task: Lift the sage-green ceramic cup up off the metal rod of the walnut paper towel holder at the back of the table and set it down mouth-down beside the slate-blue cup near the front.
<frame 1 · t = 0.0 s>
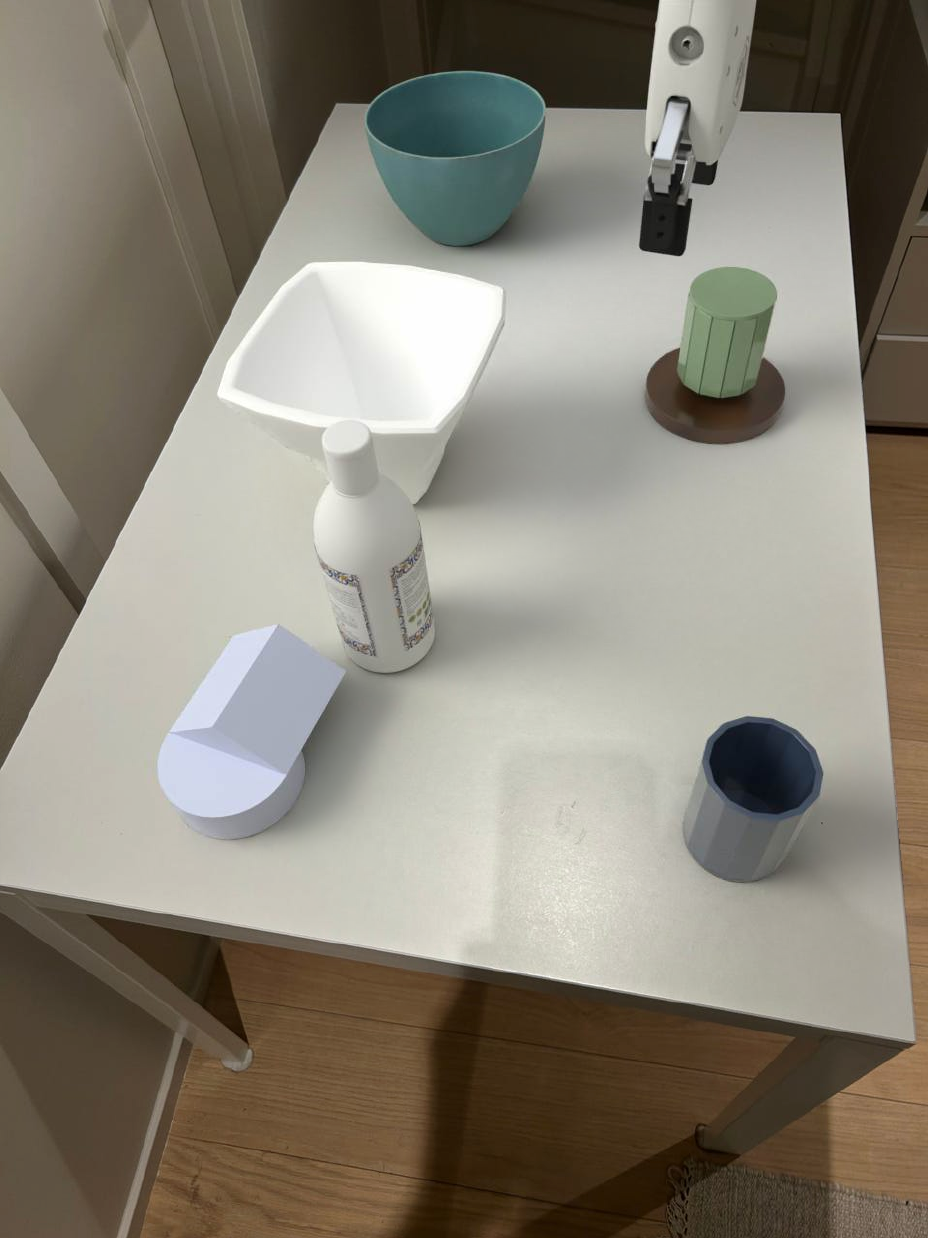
hand: (677, 214, 68), 18 cm above the table, tool pointing down, fingers open, 9 cm apart
green cup: (717, 371, 81), point 3 cm above the table, touching towel holder
bowl: (390, 474, 80), on the table
towel holder: (712, 398, 83), on the table
bath foam: (389, 639, 70), on the table
blue cup: (734, 833, 59), on the table
plant pot: (462, 227, 103), on the table
wedge on round base: (254, 754, 64), on the table
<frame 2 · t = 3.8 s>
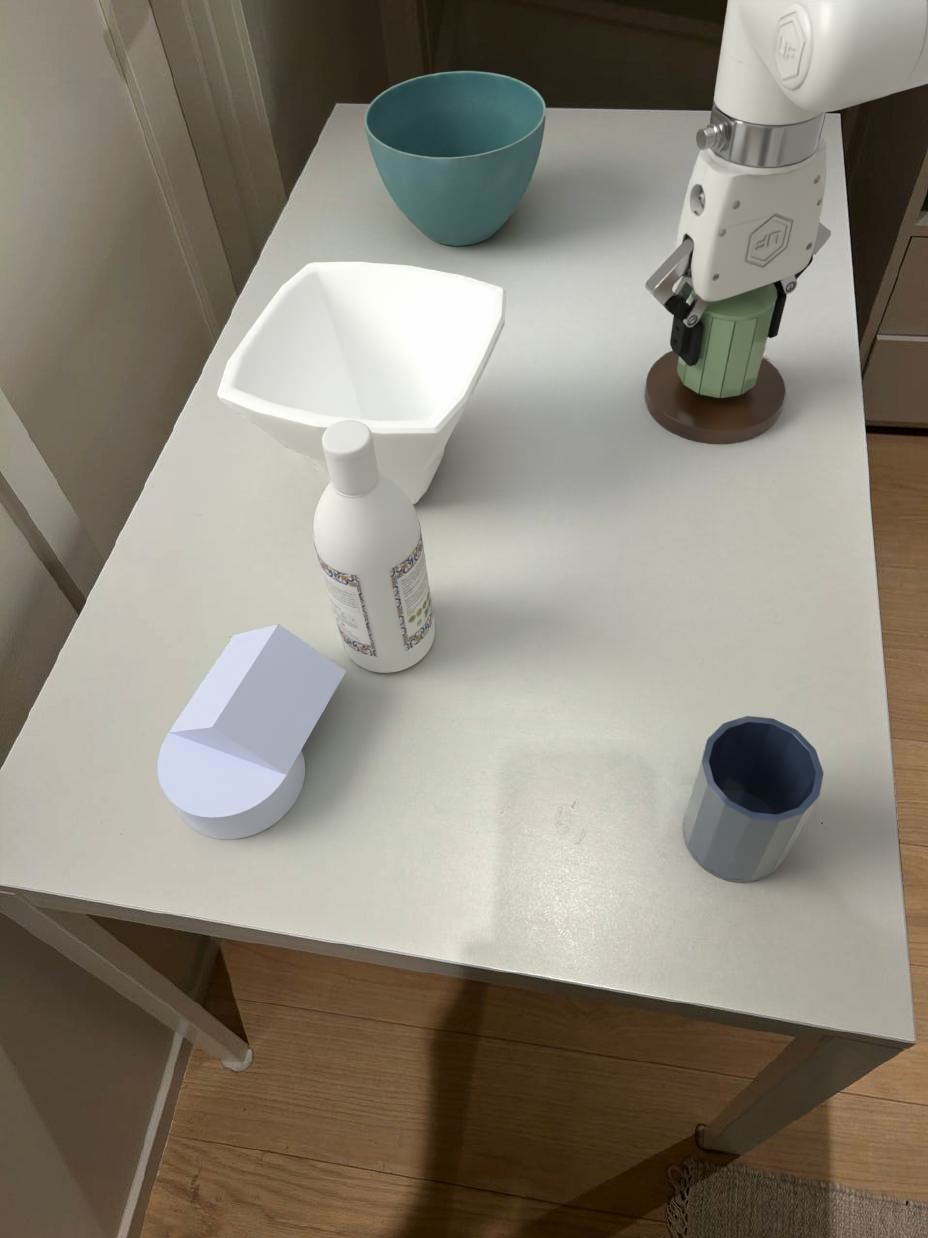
hand: (723, 341, 78), 6 cm above the table, tool pointing down, fingers closed on green cup, 7 cm apart
green cup: (717, 371, 81), point 3 cm above the table, touching gripper, towel holder
everything else where it was.
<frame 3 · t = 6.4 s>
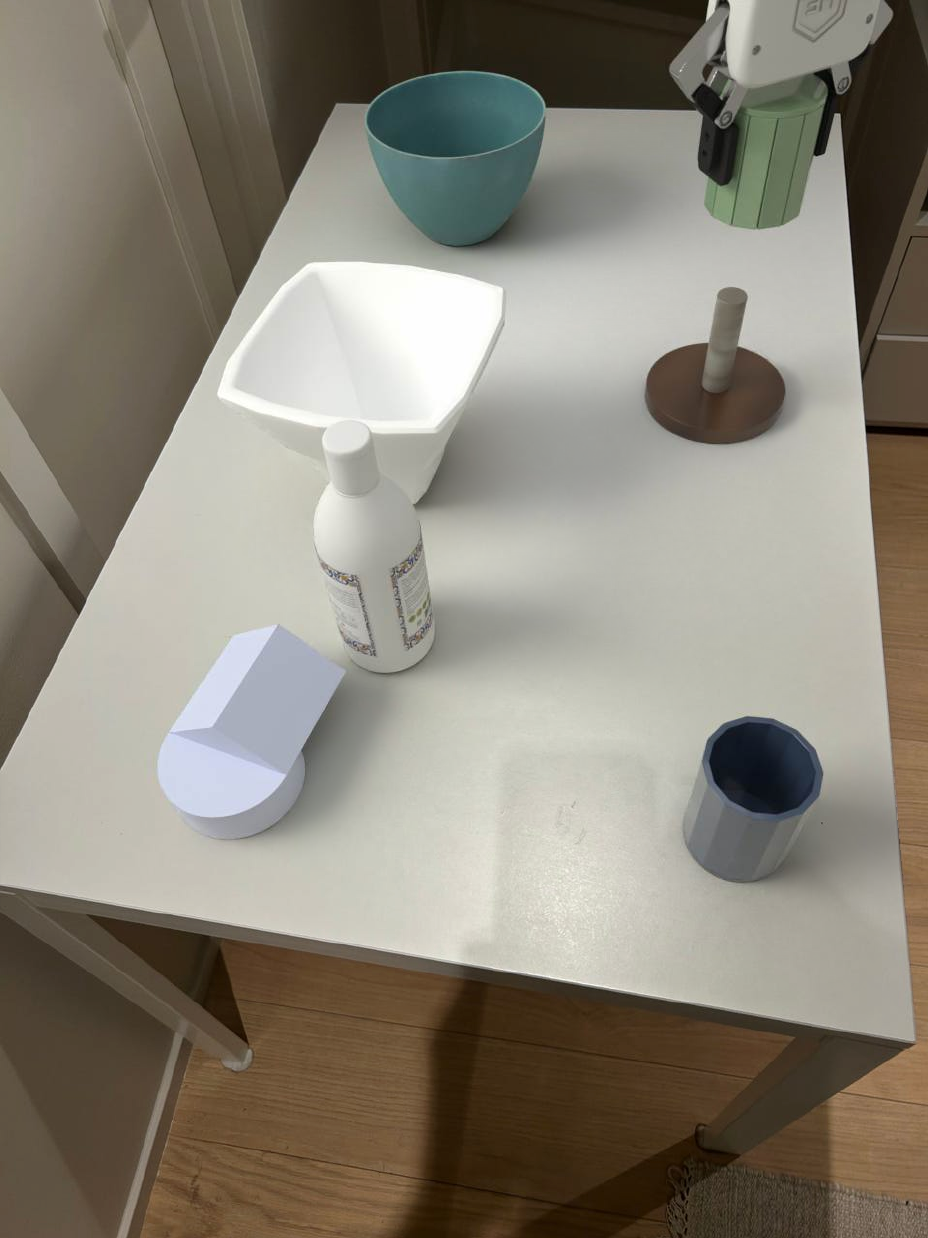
hand: (761, 160, 65), 22 cm above the table, tool pointing down, fingers closed on green cup, 7 cm apart
green cup: (752, 203, 68), point 19 cm above the table, touching gripper
everything else where it was.
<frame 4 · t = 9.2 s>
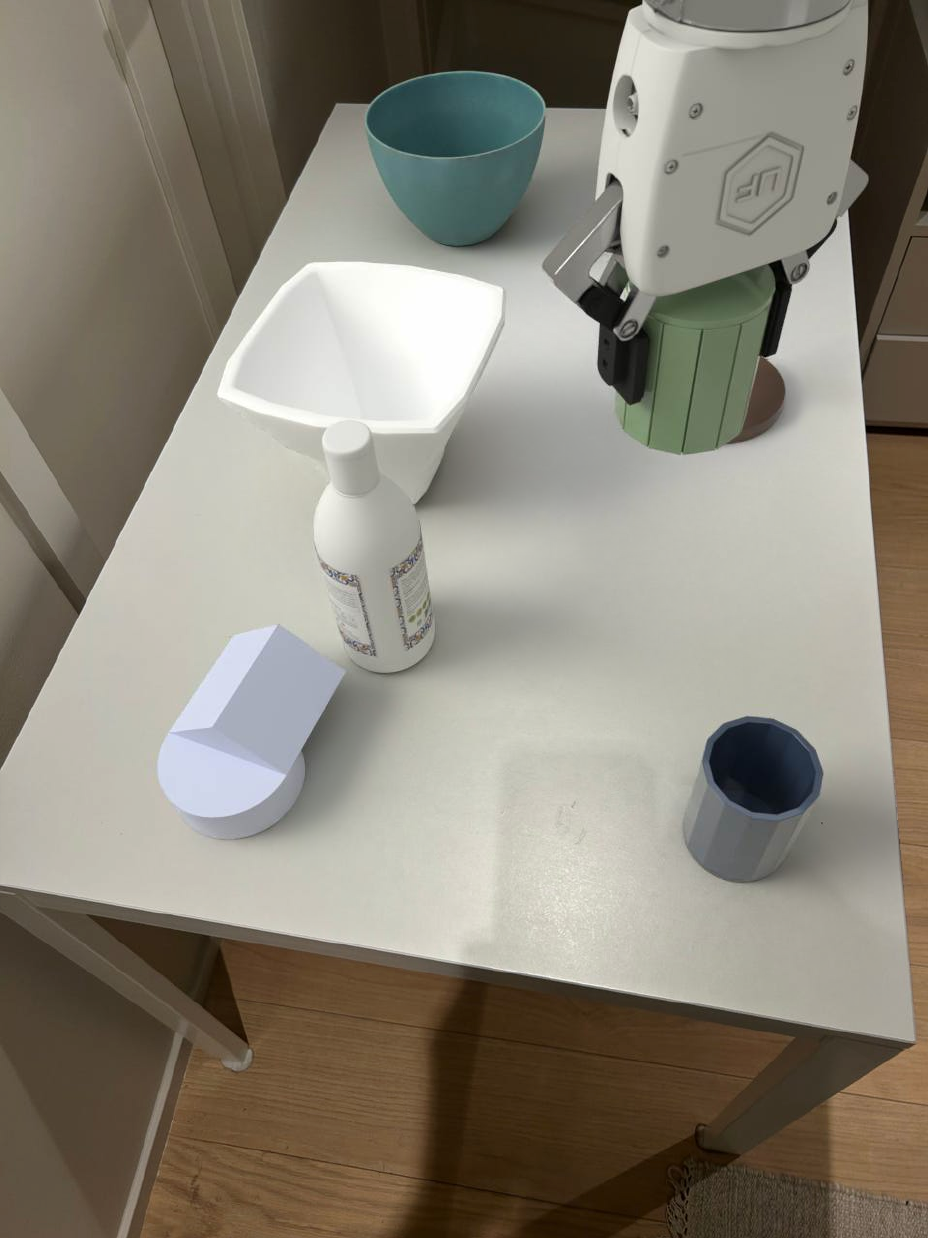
hand: (688, 362, 48), 25 cm above the table, tool pointing down, fingers closed on green cup, 7 cm apart
green cup: (680, 410, 50), point 22 cm above the table, touching gripper
everything else where it was.
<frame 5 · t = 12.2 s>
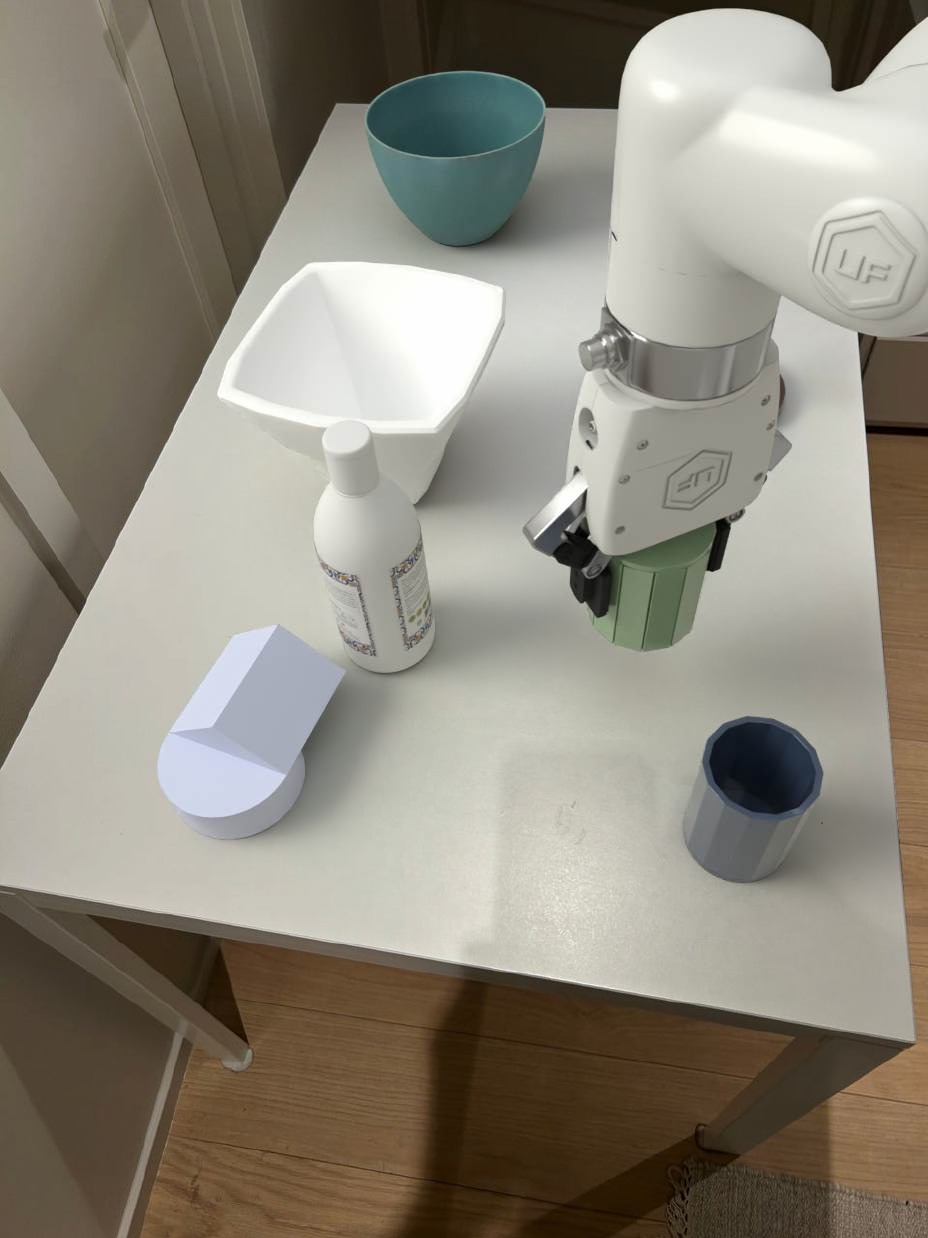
hand: (646, 576, 57), 12 cm above the table, tool pointing down, fingers closed on green cup, 7 cm apart
green cup: (641, 607, 59), point 9 cm above the table, touching gripper
everything else where it was.
when the fingers open (3 cm above the table, at t = 14.7 s): green cup stays where it is, on the table.
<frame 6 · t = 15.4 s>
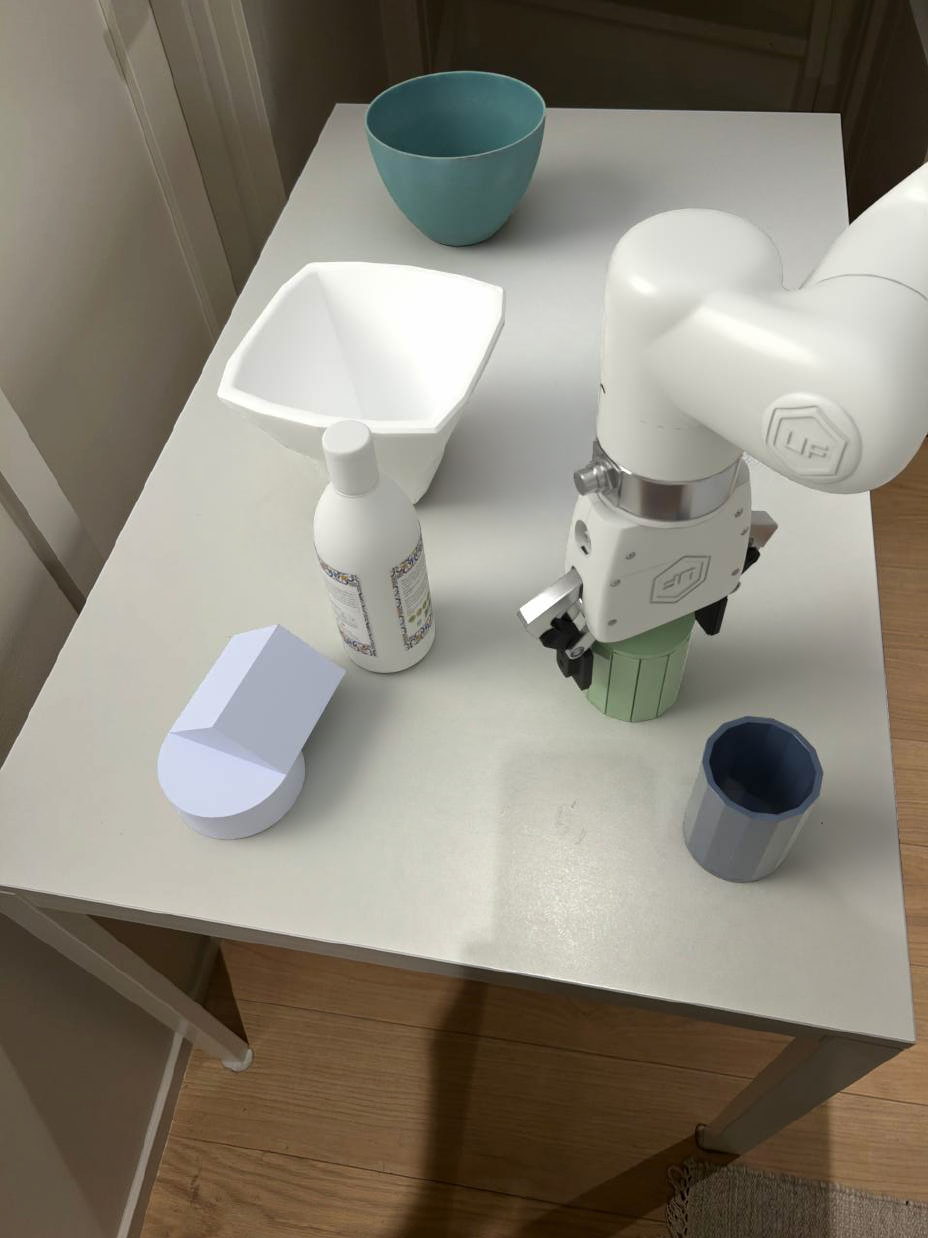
hand: (639, 646, 62), 4 cm above the table, tool pointing down, fingers open, 9 cm apart
green cup: (630, 679, 66), on the table
everything else where it was.
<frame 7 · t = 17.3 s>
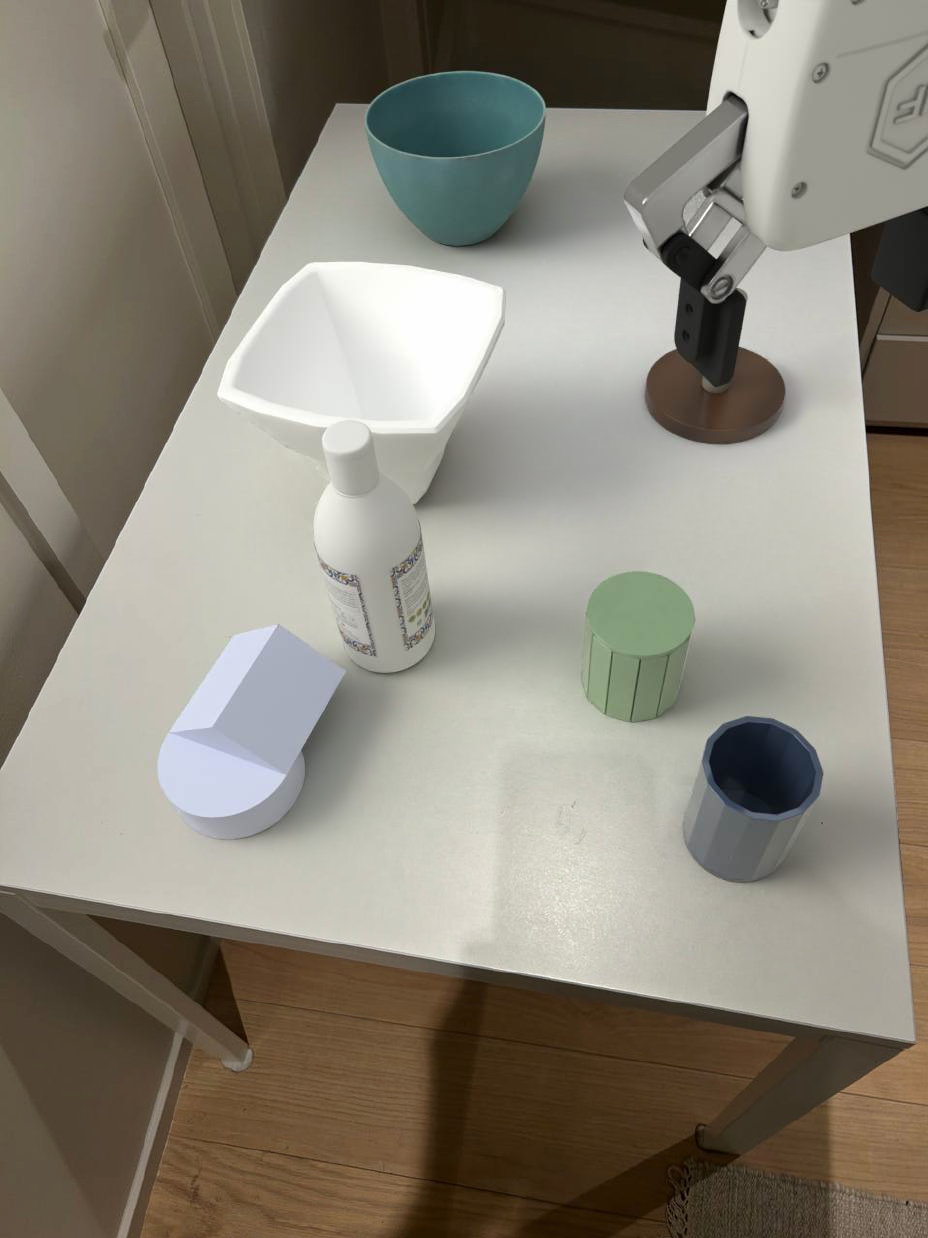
hand: (803, 329, 39), 31 cm above the table, tool pointing down, fingers open, 9 cm apart
nothing on the table moved.
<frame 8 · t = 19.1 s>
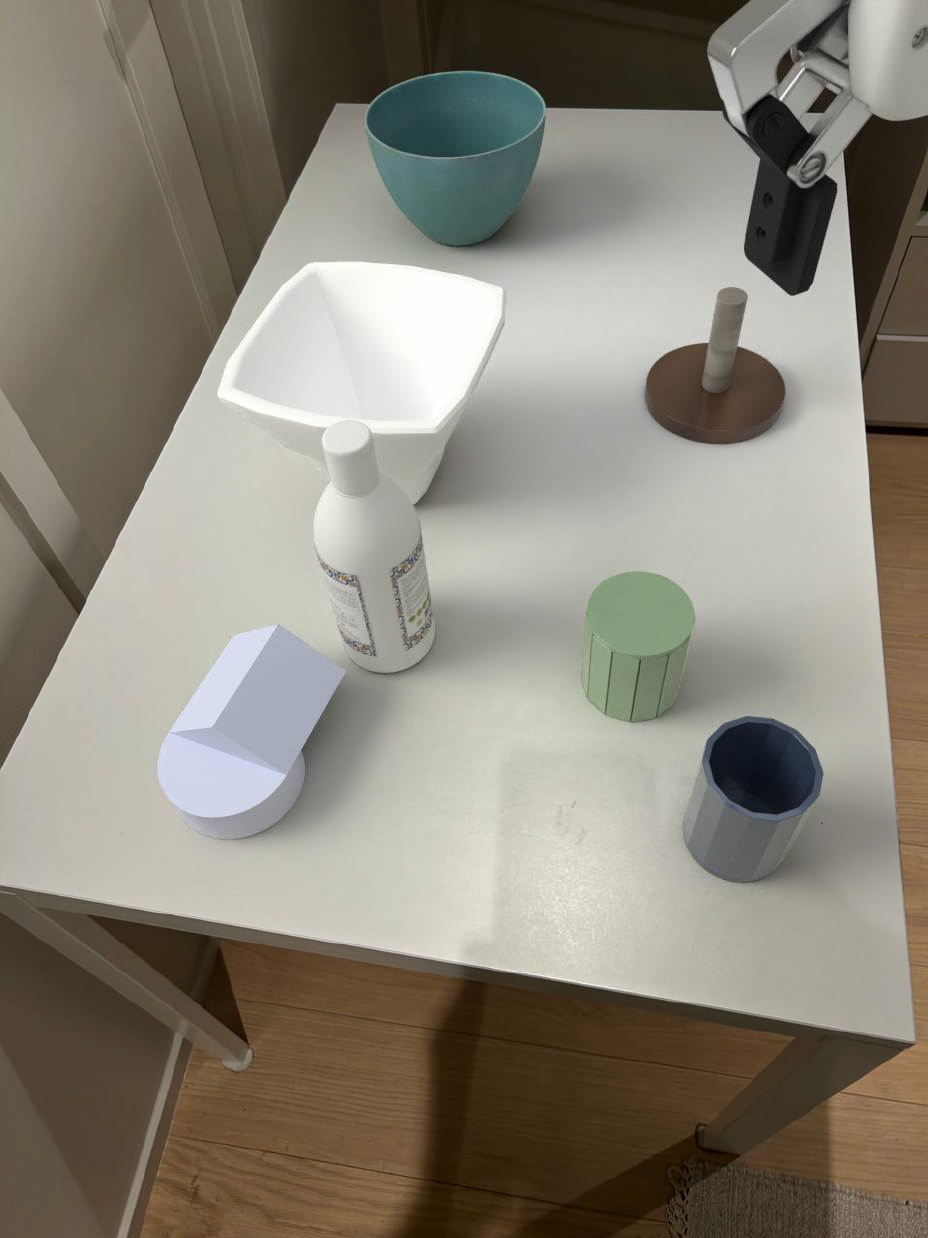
hand: (887, 236, 34), 36 cm above the table, tool pointing down, fingers open, 9 cm apart
nothing on the table moved.
at the end: green cup 12.9 cm from the blue cup (horizontally); green cup on the table; green cup tilted 0° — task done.
